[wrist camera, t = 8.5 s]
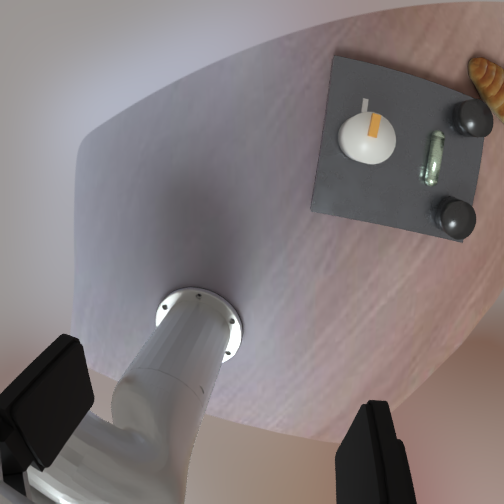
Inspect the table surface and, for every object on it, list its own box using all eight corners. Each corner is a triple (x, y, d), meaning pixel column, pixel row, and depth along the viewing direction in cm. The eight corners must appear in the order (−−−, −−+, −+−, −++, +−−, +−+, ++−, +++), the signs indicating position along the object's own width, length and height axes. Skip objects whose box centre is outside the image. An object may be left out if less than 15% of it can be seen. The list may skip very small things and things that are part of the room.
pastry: (456, 80, 29) (470, 76, 25) (474, 47, 27) (488, 41, 23) (503, 128, 30) (519, 129, 26) (519, 94, 27) (535, 93, 24)
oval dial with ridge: (376, 166, 32) (391, 171, 27) (333, 154, 32) (340, 156, 27) (386, 123, 30) (402, 120, 25) (342, 110, 31) (351, 104, 25)
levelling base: (455, 238, 35) (473, 250, 31) (310, 207, 37) (312, 217, 32) (479, 105, 29) (500, 102, 24) (332, 59, 31) (337, 47, 26)
